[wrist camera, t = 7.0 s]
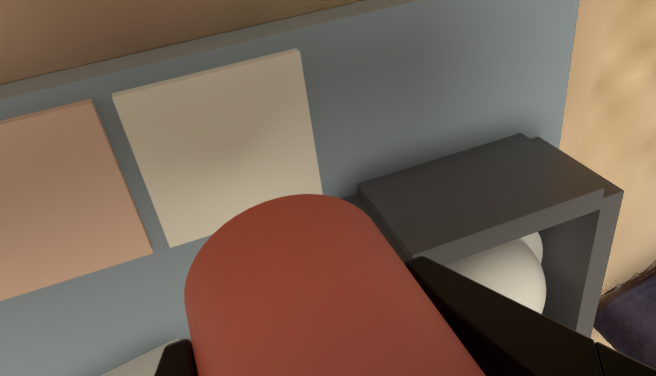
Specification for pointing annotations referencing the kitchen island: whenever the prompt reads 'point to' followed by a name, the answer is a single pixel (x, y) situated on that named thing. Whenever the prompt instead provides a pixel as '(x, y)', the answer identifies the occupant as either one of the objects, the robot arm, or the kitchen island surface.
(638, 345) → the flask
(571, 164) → the button housing
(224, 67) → the board
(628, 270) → the kitchen island surface
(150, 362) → the beige cube
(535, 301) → the dome
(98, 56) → the kitchen island surface
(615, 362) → the robot arm
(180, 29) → the kitchen island surface
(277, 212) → the pawn
